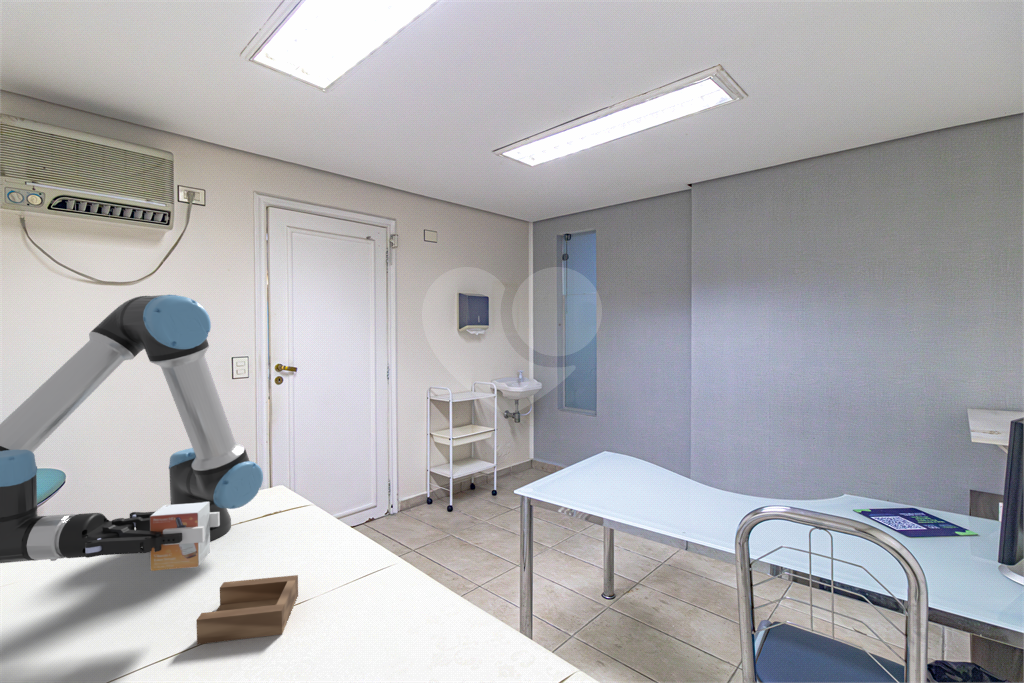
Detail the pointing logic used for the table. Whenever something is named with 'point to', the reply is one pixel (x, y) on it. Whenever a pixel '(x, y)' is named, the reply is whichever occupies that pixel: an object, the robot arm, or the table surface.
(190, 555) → the small box
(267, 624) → the rack
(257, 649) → the table surface
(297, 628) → the table surface
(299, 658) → the table surface
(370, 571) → the table surface
